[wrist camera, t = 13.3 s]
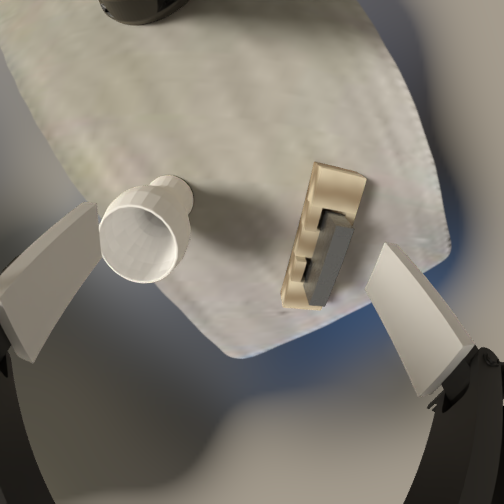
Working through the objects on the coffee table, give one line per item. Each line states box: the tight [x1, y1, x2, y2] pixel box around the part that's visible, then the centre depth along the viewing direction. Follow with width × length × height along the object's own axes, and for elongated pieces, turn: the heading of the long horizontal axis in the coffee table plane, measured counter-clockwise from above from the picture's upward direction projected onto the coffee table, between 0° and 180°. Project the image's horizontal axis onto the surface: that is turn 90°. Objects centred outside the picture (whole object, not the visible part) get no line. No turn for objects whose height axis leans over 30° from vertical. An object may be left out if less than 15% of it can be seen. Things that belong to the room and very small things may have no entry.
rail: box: [280, 162, 367, 310], centre depth 42 cm, size 24×7×4 cm, turn 171°
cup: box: [99, 175, 194, 283], centre depth 33 cm, size 11×11×15 cm
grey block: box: [303, 210, 354, 307], centre depth 39 cm, size 13×3×8 cm, turn 171°
